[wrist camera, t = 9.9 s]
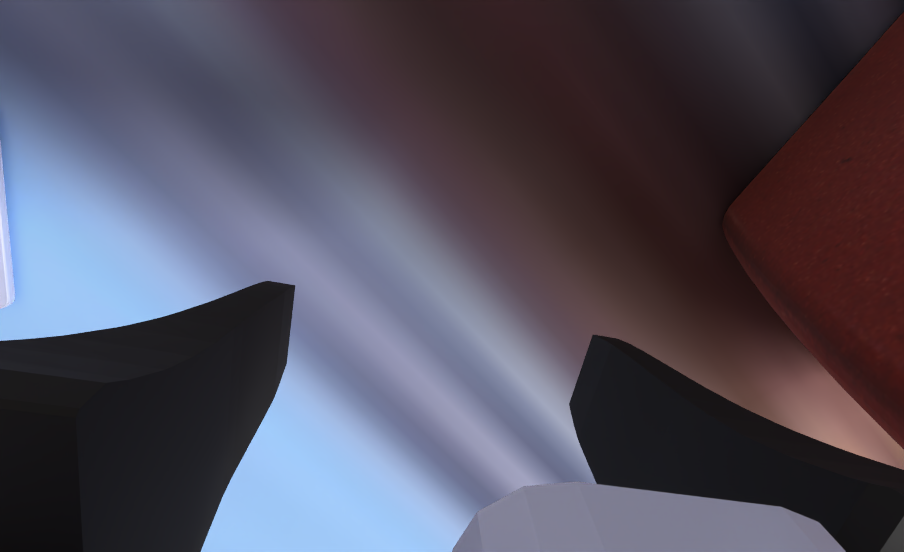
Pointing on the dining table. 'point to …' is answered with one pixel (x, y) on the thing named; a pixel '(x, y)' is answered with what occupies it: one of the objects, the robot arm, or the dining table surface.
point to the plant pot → (839, 232)
